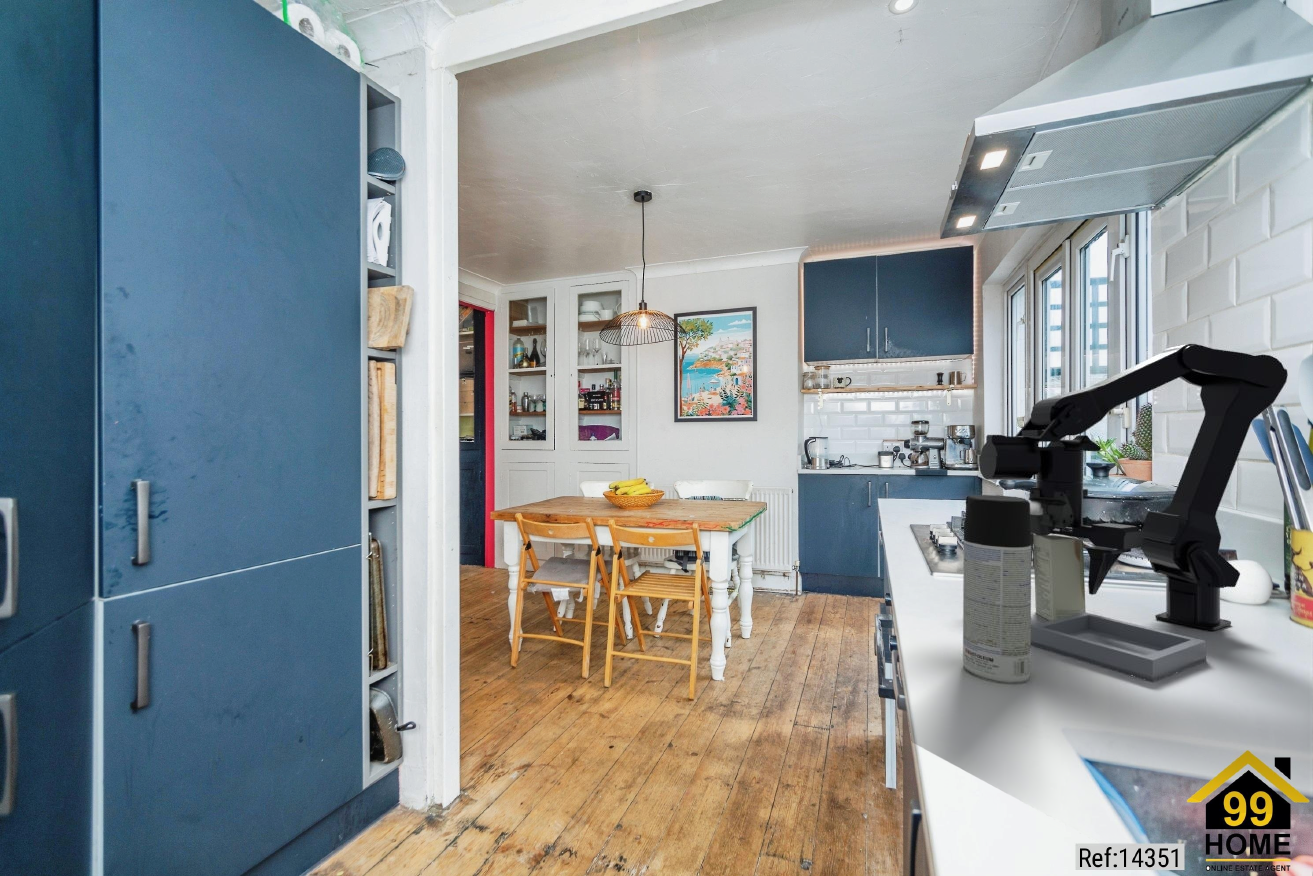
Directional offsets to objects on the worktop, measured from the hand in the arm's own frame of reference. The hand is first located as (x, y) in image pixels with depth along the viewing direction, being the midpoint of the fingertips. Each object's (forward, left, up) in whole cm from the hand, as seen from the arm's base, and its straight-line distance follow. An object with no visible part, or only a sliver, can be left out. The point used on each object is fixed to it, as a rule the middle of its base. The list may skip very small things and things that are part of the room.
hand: (1057, 586), depth 85 cm
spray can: (+28, +8, -5) cm, 29 cm away
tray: (+9, +11, -5) cm, 15 cm away
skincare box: (0, 0, -5) cm, 5 cm away
